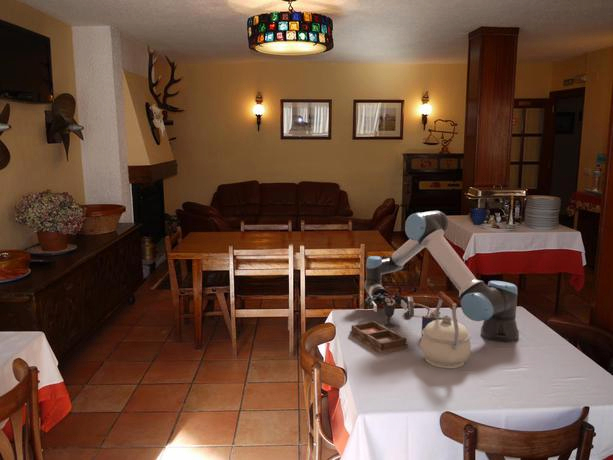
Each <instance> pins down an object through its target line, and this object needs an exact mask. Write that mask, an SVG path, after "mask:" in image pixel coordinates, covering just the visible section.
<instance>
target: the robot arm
mask: <svg viewBox="0 0 613 460" xmlns="http://www.w3.org/2000/svg"><path fill="white" fill-rule="evenodd" d="M404 225H405V227H404V231H405V234H406V236H407V238H408V240H407V241H406V242H404V243H403V244H402V245H401V246H400V247H398V249H397V250H395V251H394V252H393V253H392V254H391V255H390V256H388V257H385V258H382V257H381V256H378V255H373V256H372V255H371V256H368V257H367V258H366V262H365V263H366V265H365V267H366V268H365V270H366V271H365V273H366V274H365V275H366V277H365V278H366V279H365V281H364V285H363V286H364V287H363V288H364V290H365V292H366V293H367V295H366V296H367V297H366V299H364V302H363V303H364V307H368V309H372V310H373V311H374V312H375V313H378V306H377V304H382V302H383V301H382V300H384V301H385V299H386V298H387V297H388V296H391V297H392V296H393V298H394V300H395V303H397V304H396V305H400V306H401V307H402V309H404V311H408V299H407V298H408V297H404V296H400V295H397V294H396V293H393V294H389V292H388V291H387V289H386V288H385V287H384V286H383V284H382V275H386V274H390V273H394V272H399V271H401V270H403V268H404V266H405V264H406V263H407V262H408V261H410V260H411V259H412V258H413V257H414V256H416V255H417V254H418V253H419V252H421V251H422V250H424V249H425V248H426V249H427V251H429V252H430V254H431V256H432V257H433V258H434V260H435V261H436V263H438V264H439V266H440V268H441V269H442V270H443V272H444V273H445V275H446V277H448V278H449V280H450V282H452V284H453V285H454V286H455V288H456V289H457V290H458V292H459V293H458V294H459V295H458V298H459V300H460V305H461V306H460V309H461V311H462V313H463V314H464V316H465V317H467V318H468V319H470V320H471V321H473V322H482V321H483V323H482V326H481V327H480V328H481V329H480V335H481V336H482V337H483V338H485V339H488V340H490V341H495V342H503V343H508V342H509V343H511V342H515V341H517V340H519V338H520V337H519V336H520V332H519V331H520V330H519V329H518V325H517V320H516V319H517V318H516V317H517V304H518V287H517V285H516V284H514V283H511V282H506V281H501V280H490V281H488V283H487V284H486V283H485V282H484V280H479V279H477V277H475V275H474V274H473V273H472V271H471V270H470V268H469V267H468V266H467V265H466V263H465V262H464V260H462V258H461V257H460V255H459V254H458V253H457V252H456V250H455V249H454V248H453V247H452V245H451V244H450V243H449V241H448V240H447V239H446V237H445V236H444V235H445V234H446V233H447V231H448V229H449V227H450V222H449V218H448V216H447V214H445V213H444V212H442V211H440V210H429V211H424V212H423V211H422V212H419V211H418V212H415V213H412V214H410V215H409V216H408V217H407V219H406V221H405V224H404Z"/></svg>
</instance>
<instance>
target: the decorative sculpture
mask: <svg viewBox="0 0 613 460" xmlns="http://www.w3.org/2000/svg"><path fill="white" fill-rule="evenodd" d="M406 298H407V299H408V305H407V311H408V313H409V314H408V315H409V316H414V315H415V308H414V307H415V306H419V307H422V308H424V309H426V310H427V314H426V315H427V316H429V315H430V316H431V315H432V314H433V312H434V313H435V314H436V309H433V310H432V311H431V308H430V307H429V306H426V305H424V304H420V303H415V302H414V298H413V297H412V296H407V297H406ZM439 316H441V311H439Z"/></svg>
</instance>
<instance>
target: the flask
mask: <svg viewBox="0 0 613 460" xmlns="http://www.w3.org/2000/svg"><path fill="white" fill-rule="evenodd" d="M442 317H443V315H439V320H441V318H442ZM421 320H422V321H421V331H422V330H423V329H424V328H425V327H426V325H427V324H429V323H430V322H432V321H433V320H436V314H435V313H434V312H433V314H432V315H431V316H430V314H428V315H427V314H425V315H423V316H422V317H421ZM422 336H423V334H422V333H421V337H422Z"/></svg>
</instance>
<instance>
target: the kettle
mask: <svg viewBox="0 0 613 460" xmlns="http://www.w3.org/2000/svg"><path fill="white" fill-rule="evenodd" d="M437 297H438V303H437V306H436V308H435V310H436V320H433V321H432V322H430V323H429V324H427V325H426V327H425V328H424V329H423V330H422V329H421V340H420V344H419V345H420V350H421V353H422V354H423V355H424V357H425V360H426V362H427V363H428V364H429V365H432V366H434V367H436V368H440V369H457V368H460V367H463V366H464V364H465V361H466V360H467V359H468V358H469V357H470V355H471V353H472V345H471V341H470V339H471V333H470V332H469V331H468V330H467V328H466V327H465V325H463V324H461V323H460V322H458V318H457V308H458V304H457V303H456V302H454V301H453V299H451V298H450V296H448V295H447V294H446V292H443V291H439V293H438V295H437ZM443 303H444V304H445V305H446V306H448V307H449V309H450V310H451V317H450V315H448V314H447V315H446V314H445V315H444V316H443V315H442V316H443V317H442V318H441V320H439V316H440V315H439V312H440V311H441V310H440V309H441V307H442V304H443ZM422 334H423V336H422Z"/></svg>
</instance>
